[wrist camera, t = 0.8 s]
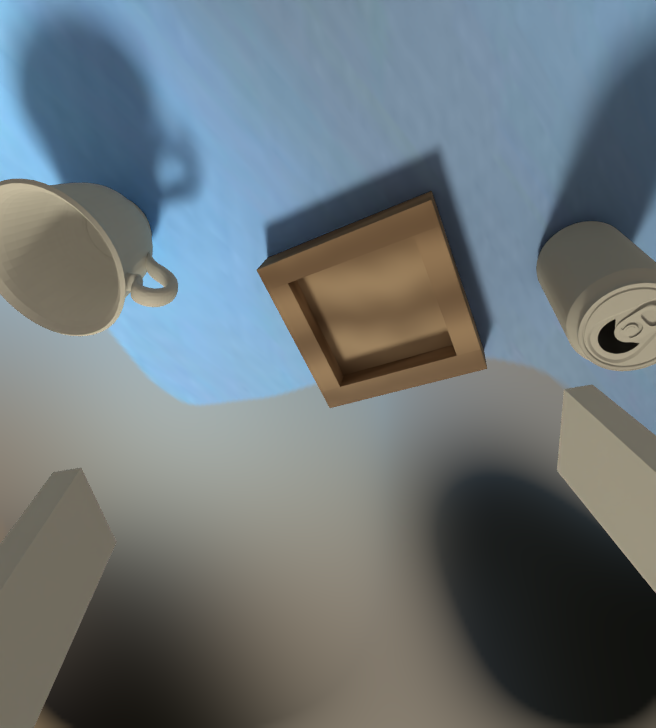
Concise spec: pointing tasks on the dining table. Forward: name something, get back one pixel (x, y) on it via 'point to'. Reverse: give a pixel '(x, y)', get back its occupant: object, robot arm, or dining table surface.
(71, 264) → the teacup
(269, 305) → the dining table surface
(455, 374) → the tray
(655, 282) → the beverage can
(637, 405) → the dining table surface
